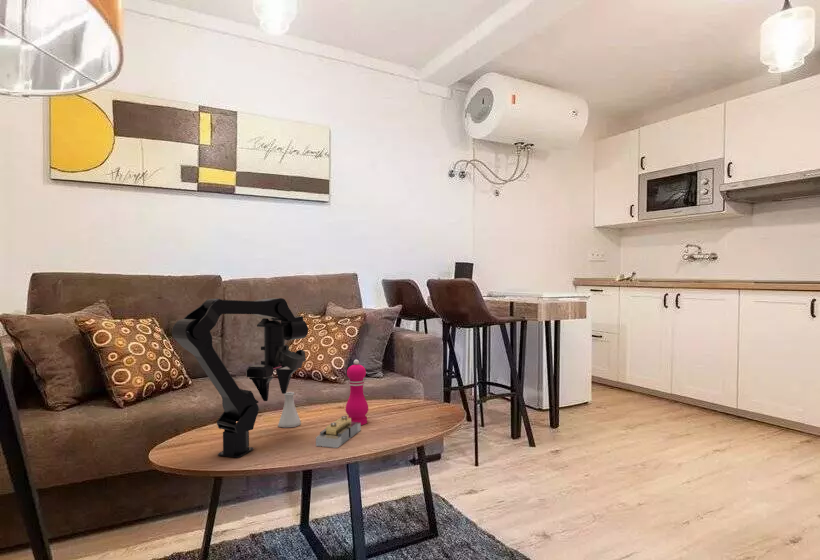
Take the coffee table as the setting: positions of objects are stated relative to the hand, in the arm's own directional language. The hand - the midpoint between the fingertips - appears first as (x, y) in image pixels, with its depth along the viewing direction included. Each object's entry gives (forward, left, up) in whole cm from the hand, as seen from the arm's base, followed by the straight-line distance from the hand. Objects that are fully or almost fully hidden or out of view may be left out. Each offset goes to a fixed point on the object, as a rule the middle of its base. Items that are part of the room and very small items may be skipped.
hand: (275, 397), depth 133 cm
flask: (+14, +4, -12) cm, 19 cm away
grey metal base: (+6, -17, -12) cm, 22 cm away
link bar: (+6, -17, -11) cm, 21 cm away
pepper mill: (+21, -16, -12) cm, 29 cm away
